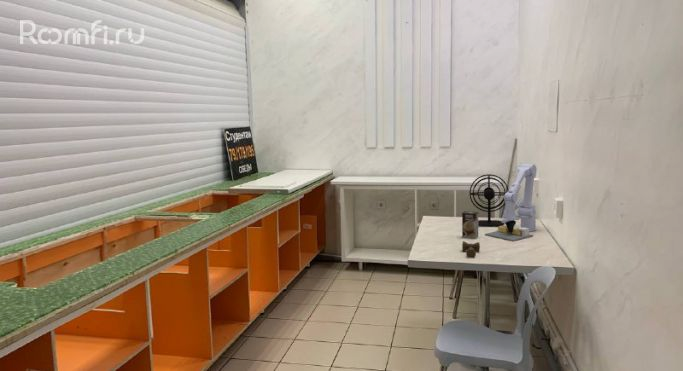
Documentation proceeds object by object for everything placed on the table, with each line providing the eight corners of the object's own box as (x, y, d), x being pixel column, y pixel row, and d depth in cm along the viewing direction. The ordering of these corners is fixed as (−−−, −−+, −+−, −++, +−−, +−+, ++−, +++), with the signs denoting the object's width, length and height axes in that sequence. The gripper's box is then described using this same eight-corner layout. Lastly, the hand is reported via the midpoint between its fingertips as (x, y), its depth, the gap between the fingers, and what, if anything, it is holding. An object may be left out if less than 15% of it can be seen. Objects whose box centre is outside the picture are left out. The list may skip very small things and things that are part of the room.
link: (498, 231, 326) (498, 226, 326) (505, 229, 329) (505, 225, 329) (518, 235, 312) (518, 230, 312) (525, 234, 315) (525, 229, 315)
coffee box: (461, 237, 318) (461, 212, 316) (464, 235, 324) (464, 210, 321) (476, 238, 314) (476, 213, 312) (478, 236, 319) (478, 211, 317)
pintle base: (504, 230, 332) (504, 222, 331) (533, 236, 314) (533, 228, 313) (484, 235, 322) (484, 227, 321) (513, 241, 303) (513, 232, 303)
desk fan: (508, 222, 358) (509, 173, 353) (510, 227, 341) (510, 176, 336) (469, 221, 365) (469, 173, 360) (469, 226, 348) (469, 176, 343)
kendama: (461, 258, 274) (462, 248, 293) (480, 259, 272) (479, 249, 291) (462, 248, 273) (462, 238, 292) (480, 249, 271) (479, 239, 290)
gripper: (508, 213, 309) (508, 235, 311) (523, 210, 317) (523, 231, 318) (498, 212, 315) (498, 233, 316) (513, 209, 323) (513, 229, 324)
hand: (510, 232), depth 318 cm, fingers closed
